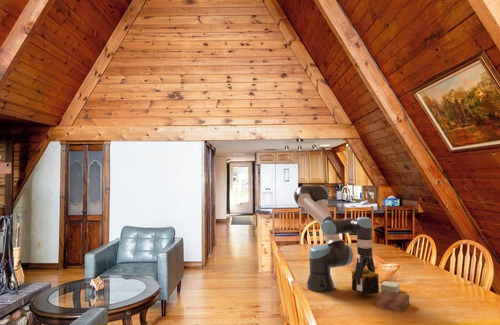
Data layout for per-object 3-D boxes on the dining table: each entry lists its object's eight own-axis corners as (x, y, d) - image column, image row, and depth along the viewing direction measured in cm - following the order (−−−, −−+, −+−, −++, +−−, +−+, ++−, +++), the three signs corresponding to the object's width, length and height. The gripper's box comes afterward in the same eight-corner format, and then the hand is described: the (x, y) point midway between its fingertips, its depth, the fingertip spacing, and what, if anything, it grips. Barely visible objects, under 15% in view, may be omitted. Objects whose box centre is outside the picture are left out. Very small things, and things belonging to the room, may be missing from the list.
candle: (363, 296, 169) (363, 276, 169) (351, 289, 179) (350, 271, 179) (379, 293, 173) (379, 274, 173) (366, 287, 182) (366, 268, 182)
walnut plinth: (377, 307, 161) (376, 297, 161) (384, 300, 171) (383, 290, 171) (403, 313, 154) (403, 302, 154) (409, 305, 163) (409, 294, 164)
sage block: (381, 292, 182) (380, 284, 182) (384, 288, 189) (384, 280, 189) (396, 294, 177) (396, 287, 178) (399, 290, 184) (399, 283, 184)
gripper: (361, 252, 164) (361, 295, 164) (381, 243, 182) (381, 282, 182) (347, 249, 170) (347, 291, 169) (367, 241, 188) (368, 279, 187)
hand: (365, 287), depth 176 cm, fingers closed on candle, 13 cm apart
